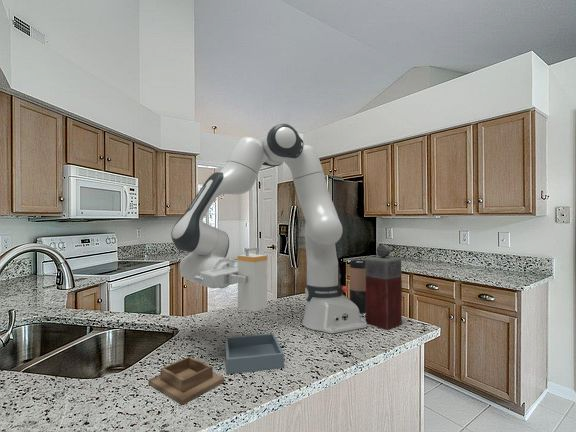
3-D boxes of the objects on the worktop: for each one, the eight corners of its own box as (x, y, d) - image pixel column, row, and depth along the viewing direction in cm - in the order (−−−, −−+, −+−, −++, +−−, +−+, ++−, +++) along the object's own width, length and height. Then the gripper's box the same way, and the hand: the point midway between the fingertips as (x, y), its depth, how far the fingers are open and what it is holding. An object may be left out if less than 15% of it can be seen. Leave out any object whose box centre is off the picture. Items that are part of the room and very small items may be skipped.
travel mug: (372, 310, 125) (372, 261, 126) (363, 314, 120) (363, 263, 120) (355, 306, 131) (355, 259, 131) (346, 310, 125) (346, 261, 125)
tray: (273, 345, 91) (273, 333, 91) (283, 367, 77) (283, 353, 77) (225, 349, 88) (225, 337, 88) (226, 374, 74) (226, 359, 74)
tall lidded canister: (237, 307, 82) (237, 248, 83) (250, 303, 86) (250, 246, 87) (254, 311, 79) (254, 249, 79) (267, 307, 83) (267, 248, 83)
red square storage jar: (405, 323, 110) (405, 244, 110) (387, 330, 103) (387, 246, 103) (383, 316, 117) (383, 243, 117) (365, 323, 110) (365, 244, 110)
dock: (148, 384, 70) (148, 368, 70) (190, 365, 78) (190, 351, 79) (182, 405, 62) (182, 387, 62) (224, 381, 71) (224, 366, 71)
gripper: (190, 266, 82) (225, 271, 74) (244, 258, 99) (278, 261, 90) (189, 289, 82) (224, 297, 74) (244, 277, 98) (278, 283, 90)
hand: (254, 278), depth 82 cm, fingers closed on tall lidded canister, 5 cm apart
